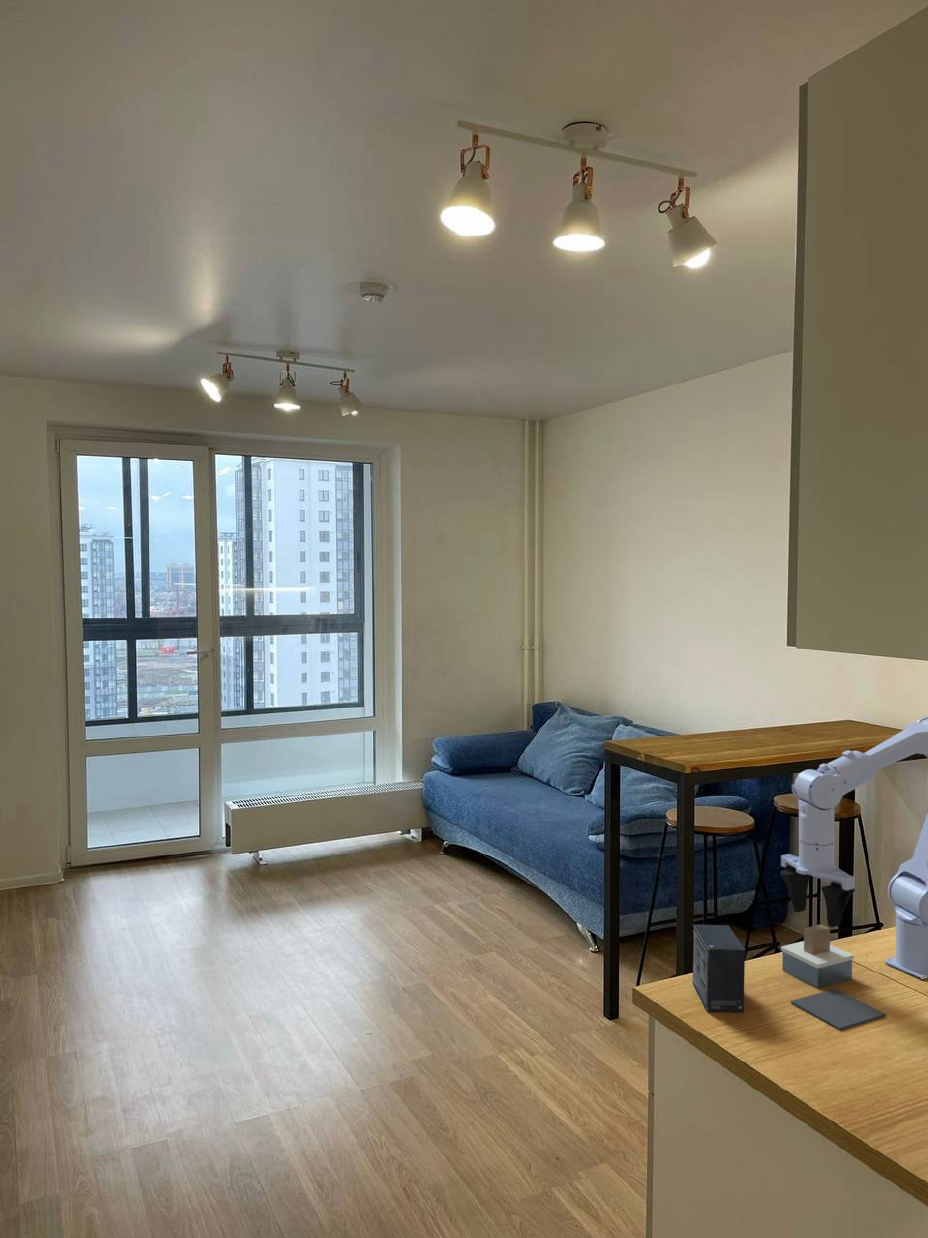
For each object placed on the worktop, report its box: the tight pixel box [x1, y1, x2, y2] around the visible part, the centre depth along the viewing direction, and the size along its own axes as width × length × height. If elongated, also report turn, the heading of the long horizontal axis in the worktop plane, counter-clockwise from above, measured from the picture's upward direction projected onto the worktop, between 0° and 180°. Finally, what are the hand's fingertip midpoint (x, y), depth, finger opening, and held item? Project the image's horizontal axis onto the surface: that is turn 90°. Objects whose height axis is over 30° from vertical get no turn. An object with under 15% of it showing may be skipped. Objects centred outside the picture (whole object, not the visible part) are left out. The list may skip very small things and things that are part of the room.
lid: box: [780, 924, 855, 969], centre depth 160 cm, size 8×8×5 cm
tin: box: [781, 951, 853, 989], centre depth 161 cm, size 8×8×4 cm
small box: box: [692, 924, 746, 1013], centre depth 152 cm, size 11×6×10 cm, turn 179°
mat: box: [790, 988, 887, 1031], centre depth 148 cm, size 10×10×1 cm
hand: (816, 918), depth 159 cm, fingers open, 7 cm apart
